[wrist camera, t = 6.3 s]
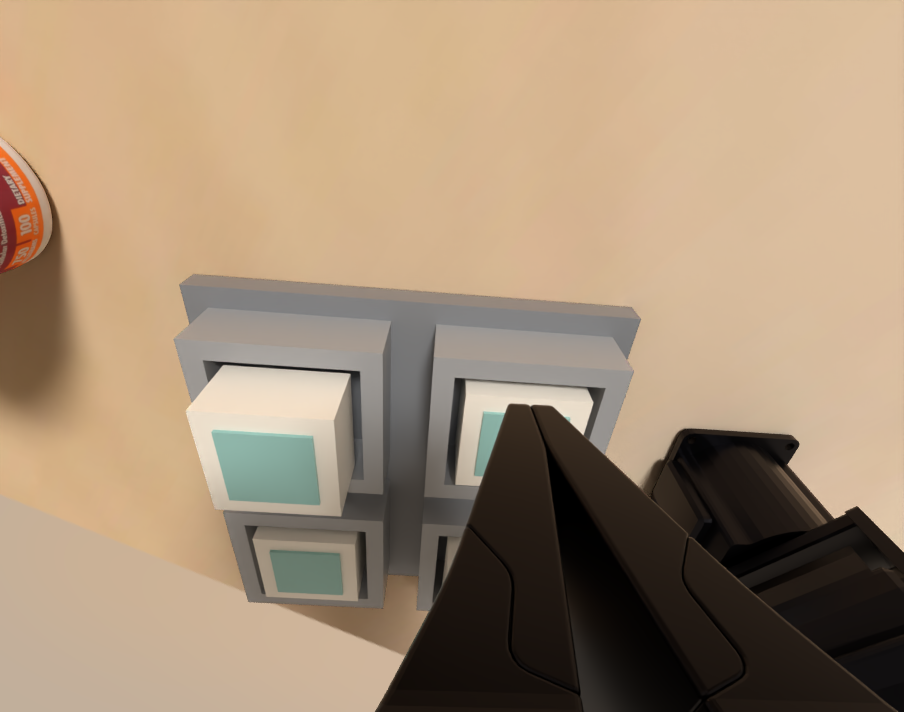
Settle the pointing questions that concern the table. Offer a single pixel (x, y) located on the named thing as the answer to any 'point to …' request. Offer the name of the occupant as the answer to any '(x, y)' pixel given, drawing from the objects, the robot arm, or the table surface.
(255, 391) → the button
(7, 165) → the pill bottle
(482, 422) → the button
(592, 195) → the table surface
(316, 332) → the console
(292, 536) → the button
